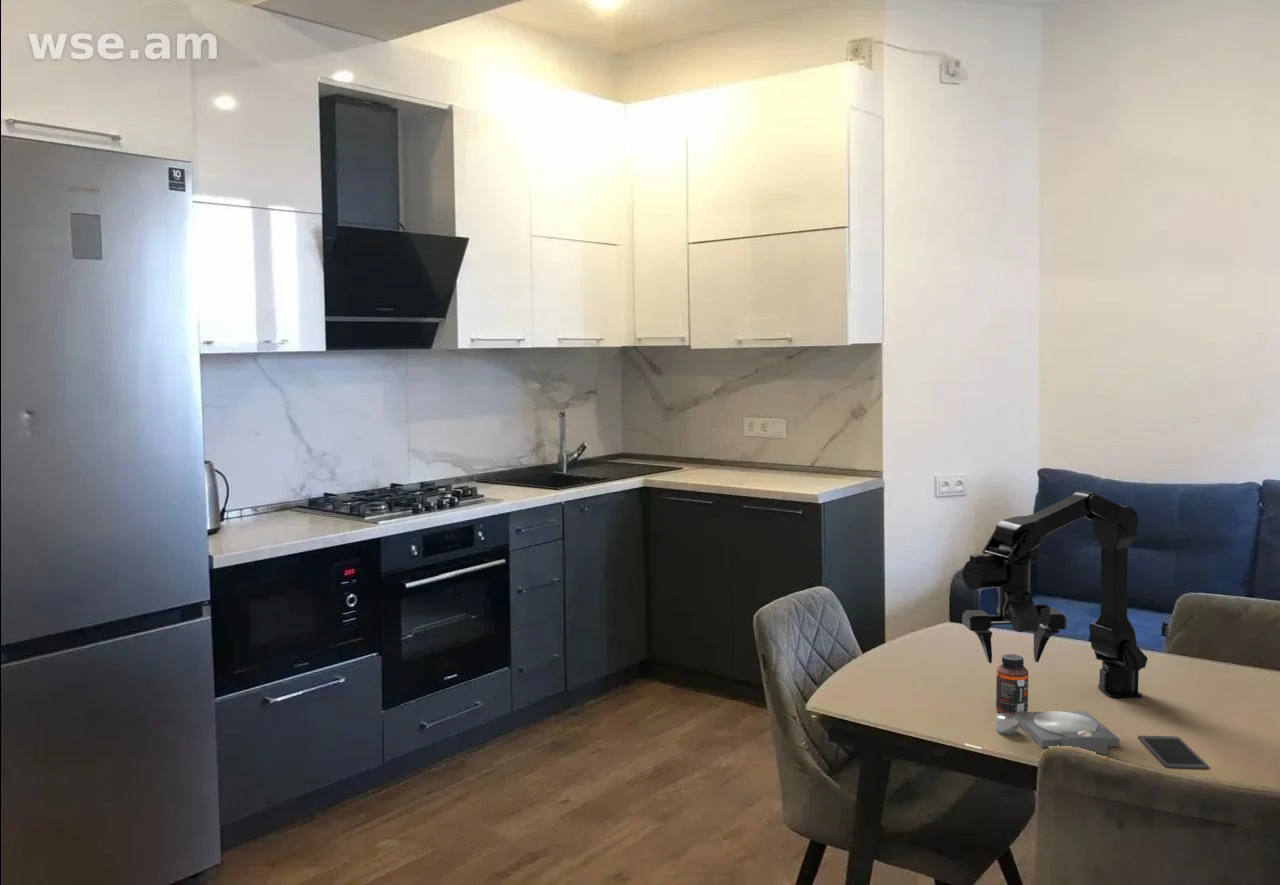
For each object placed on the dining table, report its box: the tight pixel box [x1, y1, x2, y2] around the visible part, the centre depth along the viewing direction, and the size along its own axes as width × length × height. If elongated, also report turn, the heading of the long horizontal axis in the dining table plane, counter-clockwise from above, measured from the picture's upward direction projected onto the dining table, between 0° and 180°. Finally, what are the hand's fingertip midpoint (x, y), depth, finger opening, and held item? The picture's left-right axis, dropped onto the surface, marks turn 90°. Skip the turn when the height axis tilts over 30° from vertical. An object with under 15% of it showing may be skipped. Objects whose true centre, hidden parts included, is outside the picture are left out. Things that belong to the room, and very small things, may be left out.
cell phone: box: [1137, 735, 1210, 770], centre depth 183 cm, size 7×14×1 cm, turn 173°
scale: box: [1014, 710, 1120, 755], centre depth 191 cm, size 14×17×3 cm
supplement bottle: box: [995, 653, 1029, 714], centre depth 203 cm, size 6×6×11 cm
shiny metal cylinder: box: [995, 712, 1019, 737], centre depth 194 cm, size 4×4×3 cm
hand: (1013, 662), depth 203 cm, fingers open, 9 cm apart
